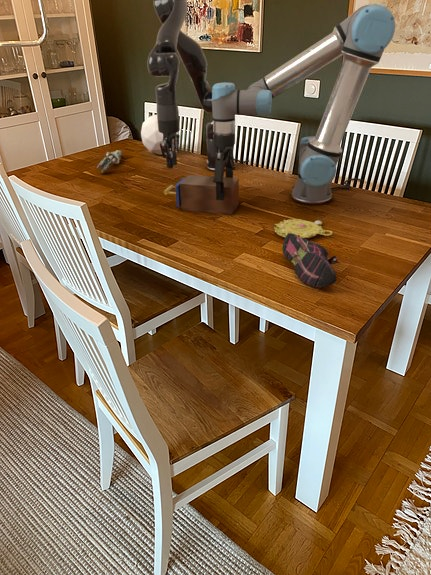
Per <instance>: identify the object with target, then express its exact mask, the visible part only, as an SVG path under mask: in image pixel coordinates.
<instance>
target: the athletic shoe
mask: <svg viewBox="0 0 431 575" xmlns="http://www.w3.org/2000/svg"><path fill="white" fill-rule="evenodd" d="M285 236H286V237H284V240H283V243H282V254H283V255H284V258H285V259H286V260H287V261H289V262H290V263H292V264H293V266H294V271H295V272H294V273H295V274H296V276H297V277H298V278H299V280H300V281H301V282H302V283H303V284H305V285H307V286H311V287H316V288H324V287H327V286H332V285H333V284H335V283H336V281H337V278H338V277H337V273H336V271H335V269H334V268H333V265H335V264H341V262H339V261H338V260H339V259H338V258H337V256H336V255H332V256H331V257H329V252H328V250H327V249H326V248H325V247H324V246H322V245H321V244H319V243H317V242H315V241H311V240H308V239H307V238H305V239H303V238H300V236H297V235H296V234H293V233H288V234H287V235H285Z"/></svg>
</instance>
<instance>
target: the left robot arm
mask: <svg viewBox="0 0 431 575" xmlns="http://www.w3.org/2000/svg"><path fill="white" fill-rule="evenodd" d="M152 3H153V9H154V11H155V14H156V16H157V18H158V20H159V22H160V23H161V26H160V28H159V30H158V32H157V35H156V41H155V45H154V46H153V48H152V49H151V51H150V52H149V54H148V57H147V61H146V66H147V71H148V73H149V74H150V75H151V76H153V77H156V78H157V77H158V78H159V77H160V78H161V77H169V79H168V81H167V82H165V83H160V84H158V85H156V86H155V100H156V115H157V120H158V131H159V132H160V133H162V134H163V143H160V148H161V152H162V154H161V155H162V158H164V159H165V162H166V168H167V169H173V168H174V166H177V165H178V159H177V158H178V157H177V155H178V152H179V151H180V137H181V136H180V134H179V135H177V134H176V132H179V133H180V129H181V126H180V114H179V112H180V111H179V104H178V92H177V85H178V78H179V73H180V68H181V63H182V66H183V67H184V69H185V71H186V73H187V75H188V77H189V80H190V82H191V83H192V86H193V88H194V90H195V93H196V96H197V98H198V101H199V104H200V106H201V108H202V110H203V111H204V112H205V113H207V114H209V115H213V111H212V88H211V86H210V83H209V82H208V79H207V78H208V77H207V76H208V74H207V73H208V65H209V64H208V59H207V57H206V55H205V53H204V51H203V48H202V46H201V45H200V44H199V43H198V41H196V40H195V39H194V38H192V37H191V36H189V35H187V34H186V33H185V32H183V31H182V28H183V25H184V22H185V20H186V17H187V14H188V1H187V0H152ZM212 122H213V120H212V121H210V122H207V123H206V125H205V128H206V129H205V134H206V165H207V166H206V167H207V170H208V171H212V172H215V160H216V155H215V154H216V153H217V152H218V151H219V147H218V146H215V145H214V144H213V134H214V132H213V125H212ZM234 162H238V163H240V164H246V163H249V162H250V159H247V160H240V159H237V158H234ZM226 170H227V169H226V166H225V171H226Z"/></svg>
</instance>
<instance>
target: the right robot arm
mask: <svg viewBox="0 0 431 575" xmlns="http://www.w3.org/2000/svg"><path fill="white" fill-rule="evenodd" d="M395 31H396V20H395V17H394V14H393V13H392V12H391V10H390V9H388V7H387V6H385V5H383V4H377V3H373V4H372V3H371V4H365V5H362V6H361V7H359V8H357V9H356V10H355V11H353V12H352V13H351V14H350V15H349V16H348V17H347V18H345V19H344V20H343V21H342V22H340V23H339V24H337V25H335V26H334V27H333V31H332V32H331V33H329V34H327V35H326V36H325V37H323V38H322V39H320V40H318V41H317V42H316V43H314V44H313V45H311V46H309V47H308V48H306V49H305V50H303V51H302V52H300V53H299V54H297V55H296V56H294V57H292V58H290V60H288V61H287V62H285V63H283V64H281V65H280V66H279V67H277V68H275V69H274V70H273V71H271V72H270V73H268V74H267V75H265V76H264V77H263V78H261V79H259V80H257V81H256V82H253V83H251V84H250V85H249V86H248V87H247V89H236V85H235V83H233V82H217V83H214V84H213V86H212V88H211V89H212V111H213V114H212V121H213V122H212V121H211V122H212V125H213V132H214V134H213V144H214V145H215V146H218V147H219V151H218V152H217V153H216V154H215V155H216V160H215V171H213V176H214V180H213V182H215V183H216V200H224V182H223V177H228V178H234V171H236V165H235V161H234V159H235V157H234V147H233V146H234V145H235V144H236V133H235V132H236V116H241V115H242V116H243V115H245V116H265V115H267V116H268V115H270V114H271V113H272V104H273V99H274V98H276V97H277V96H280V95H281V94H282V93H284V92H285V91H287V90H289V89H290V88H292V87H293V86H295V85H297V84H298V83H300V82H302V81H303V80H305V79H306V78H308V77H309V76H312V75H313V74H314V73H316V72H318V71H319V70H321V69H322V68H324V67H326V66H327V65H329V64H331V63H332V62H334V61H335V60H337V59H339V58H340V57H342V56H343V61H342V64H341V66H340V69H339V72H338V74H337V76H336V79H335V82H334V85H333V88H332V90H331V93H330V96H329V99H328V101H327V103H326V107H325V109H324V112H323V114H322V117H321V120H320V123H319V126H318V128H317V130H316V133H315V135H314V136H313V135H312V136H304V137H302V138H301V139H300V142H299V143H300V144H299V157H298V168H297V178H296V181H295V184H294V185H292V187H291V189H292V192H291V199H292V200H293V201H295V202H296V203H298V204H303V205H311V206H317V205H323V204H327V203H329V202H331V201H332V198H333V194H332V193H333V192H332V190H340V189H343V190H349V189H351V188H352V185H351V184H350V183H349V182H352V181H359V182H360V183H363V182H364V181H363V179H361V178H358V177H352V178H349V179H346V180H344V181H343V185H344V186H332V187H331V183H332V182H333V181H334V179H335V177H336V174H337V165H338V163H339V160H340V158H341V155H342V153H343V149H342V146H341V143H342V141H343V138H344V136H345V133H346V131H347V128H348V126H349V124H350V122H351V120H352V116H353V113H354V111H355V109H356V106H357V104H358V101H359V99H360V96H361V94H362V91H363V89H364V86H365V85H366V82H367V79H368V77H369V74H370V72H371V70H372V68H373V67H375V66H376V65H378V64H379V63H380V61H381V59H382V56H383V54H384V51H385V49H386V48H387V47H388V46H389V44H390V43H391V42H392V40H393V39H394V35H395ZM225 166H226V170H225Z"/></svg>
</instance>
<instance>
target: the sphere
mask: <svg viewBox="0 0 431 575" xmlns="http://www.w3.org/2000/svg"><path fill="white" fill-rule="evenodd" d="M176 134H177V135H180V131H179V132H176ZM140 137H141V141H142V145H143V146H144V147H145V148H146V149H147V150H148V151H149V152H150V153H153V154H155V155H156V154H157V155H160V156H161V155H162V152H161V148H160V143H163V134H162V133H160V132H159V131H158V120H157V114H154V115H153V114H152V115H150V116H149V117H148V118H147V119H146V120H145V121H143V122H142V125H141V129H140Z"/></svg>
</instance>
